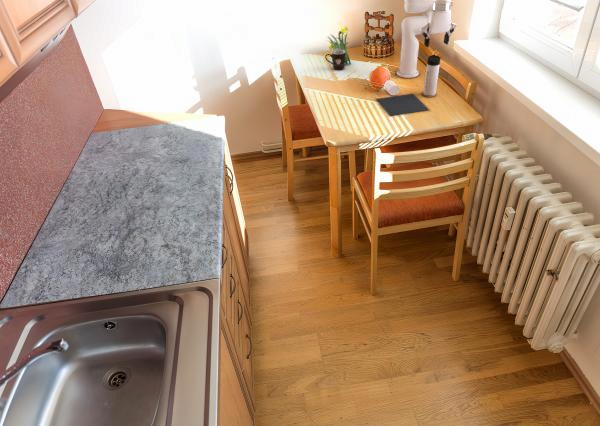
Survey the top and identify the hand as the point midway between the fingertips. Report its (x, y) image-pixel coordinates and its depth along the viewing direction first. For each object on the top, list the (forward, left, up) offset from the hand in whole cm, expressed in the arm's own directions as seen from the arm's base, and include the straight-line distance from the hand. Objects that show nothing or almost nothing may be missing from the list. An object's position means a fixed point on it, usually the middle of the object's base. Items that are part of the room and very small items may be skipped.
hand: (436, 45), depth 211 cm
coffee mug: (-62, -32, -29) cm, 76 cm away
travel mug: (-9, +4, -29) cm, 31 cm away
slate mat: (-2, -14, -29) cm, 32 cm away
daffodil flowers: (-79, -24, -29) cm, 87 cm away
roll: (-20, -14, -29) cm, 38 cm away
